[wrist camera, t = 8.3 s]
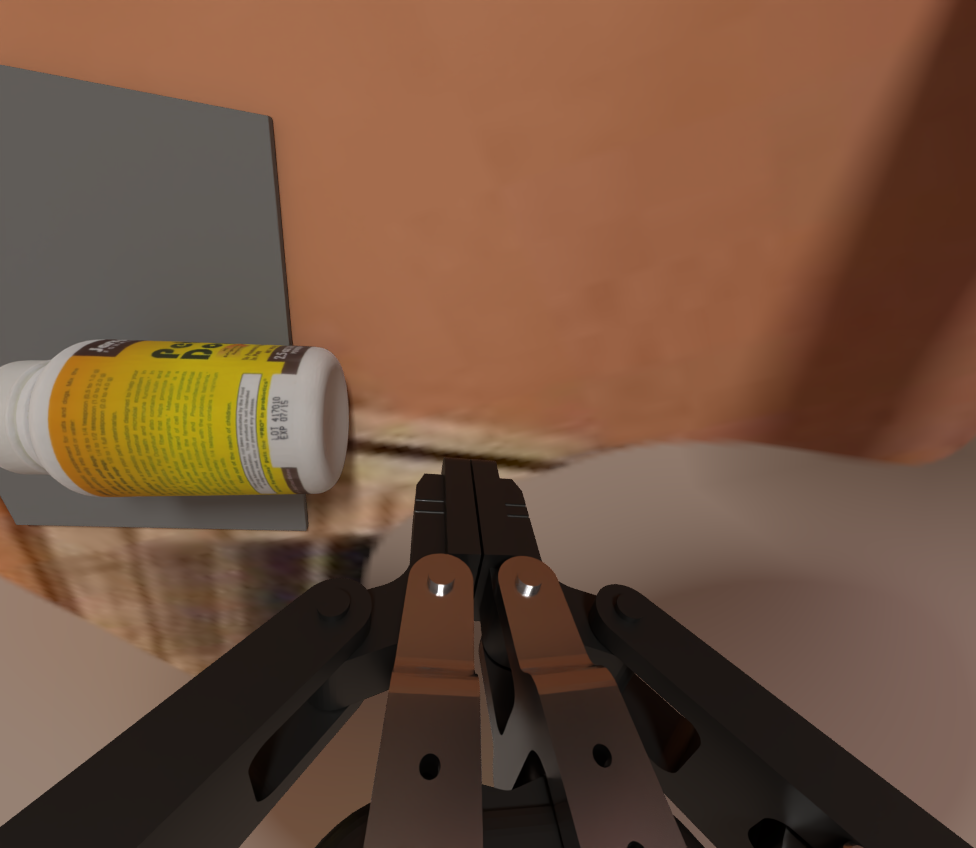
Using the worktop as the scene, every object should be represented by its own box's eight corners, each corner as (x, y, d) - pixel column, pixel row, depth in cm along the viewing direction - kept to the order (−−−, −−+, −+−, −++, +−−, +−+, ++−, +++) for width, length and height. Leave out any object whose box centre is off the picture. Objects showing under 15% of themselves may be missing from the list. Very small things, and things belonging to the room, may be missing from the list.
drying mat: (272, 117, 13) (267, 115, 13) (308, 525, 22) (306, 530, 22) (-249, 18, 11) (-272, 12, 11) (23, 518, 20) (16, 524, 19)
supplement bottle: (318, 334, 13) (-72, 319, 11) (319, 510, 13) (-64, 518, 11) (351, 356, 18) (93, 348, 17) (351, 479, 18) (97, 482, 17)
